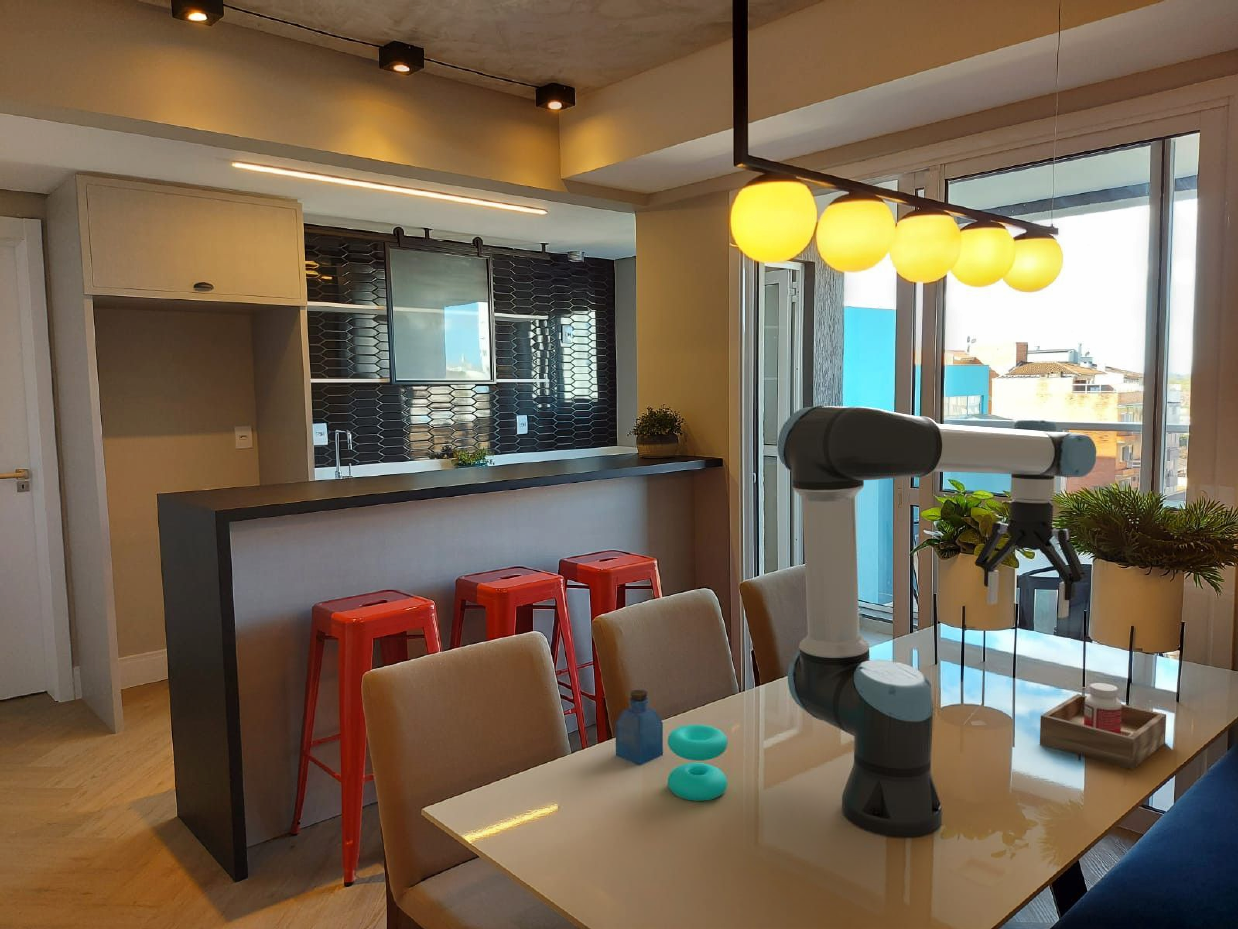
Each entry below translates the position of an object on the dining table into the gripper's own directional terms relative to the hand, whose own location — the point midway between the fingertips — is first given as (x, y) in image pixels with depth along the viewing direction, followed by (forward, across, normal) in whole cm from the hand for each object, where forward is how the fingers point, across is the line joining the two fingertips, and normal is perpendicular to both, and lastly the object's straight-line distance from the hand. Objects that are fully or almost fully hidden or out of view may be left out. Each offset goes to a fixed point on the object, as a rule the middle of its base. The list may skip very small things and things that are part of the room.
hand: (1026, 610), depth 170 cm
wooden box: (+25, -12, -8) cm, 29 cm away
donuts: (+27, +26, +64) cm, 74 cm away
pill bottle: (+25, -12, -8) cm, 29 cm away
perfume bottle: (+27, +43, +61) cm, 79 cm away
